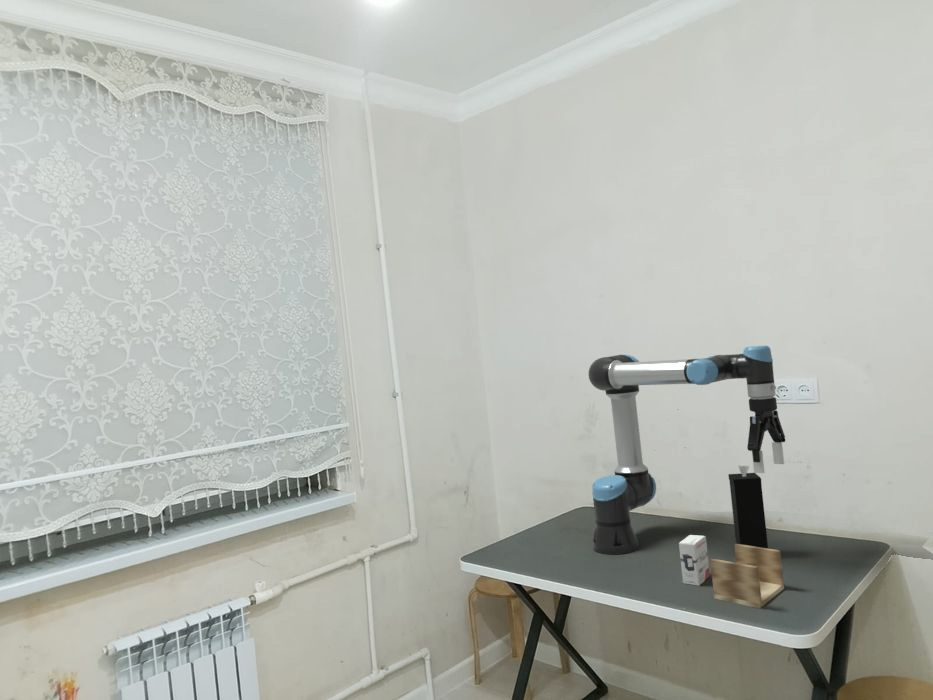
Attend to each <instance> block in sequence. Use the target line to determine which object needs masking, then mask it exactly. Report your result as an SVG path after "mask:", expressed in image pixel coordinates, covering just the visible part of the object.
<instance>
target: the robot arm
mask: <svg viewBox="0 0 933 700" xmlns="http://www.w3.org/2000/svg"><path fill="white" fill-rule="evenodd" d="M774 377H775V376H774V365H773V357H772V350H771V348H770V346H768V345H754V346H753V345H752V346H747V347H744V348H743V352H742V353H740V354H737V353H736V354H715V355H711V356H708V357H706V358H705V357H704V358H703V357H702V358H691V359H690V358H689V359H669V360H667V359H666V360H655V361H653V360H651V361H640V360H638V359H637V358H636V357H635V356H633V355H630V354H616V355H611V356H603V357H599V358H597V359H595V360H594V361H593V362H592V363H591V365H590V366H589V369H588V379H589V382H590V384H591V385H592V386H593V387H594V388H596V390H597V389H598V390H600V391H605V396H607V397H608V398H609V399H610V403H611V404H610V405H611V413H612V414H611V415H612V422H613V431H614V440H615V446H616V447H615V448H616V449H615V450H616V457H617V466H616V467H615V468H614V470H613V471H614V474H611V475H607V476H602V477H598V478H597V479H596V480H595V481H594V482H593V483H592V493H591V494H592V499H593V508H594V509H593V510H594V517H595V519H594V520H595V529H594V534H593V539H592V549H593V550H594V551H595V552H597V553H601V554H605V555H622V554H623V555H624V554H628V553H632V552H635V551H637V550H638V549H639V539H638V537H637V536H636V532H635V530H634V528H633V526H632V522H631V511H633V510H635V509H638V508H639V507H644V506H646V505H647V504H649V503H650V502H651V501H652V500H653V499H654V498H655V495H656V493H657V483H656V481H655V478H654V477H653V476H652V474H651V473H650V472H649V469H648V466H646V465H645V464H644V461H643V454H642V453H643V452H642V445H641V435H640V428H639V427H640V426H639V417H638V409H637V408H638V407H637V400H636V396H637V395H638V394H639V392H640V386H657V385H658V386H659V385H662V386H663V385H691V384H692V385H697V386H703V385H704V386H705V385H710V384H712V383H713V384H714V383H717V382H720V381H726V380H734V379H746V387H747V389H746V390H747V397H748V398H749V399H748V406H749V407H748V409H749V411H750V412H752V413H754V416H750V417H749V428H748V429H749V431H748V440H747V446H746V447H747V451H750V452H751V456H752V464H753V473H756V474H765V464H764V453H763V450H762V444H763V440H764V437H765V432H768V435H770V438H771V439H772V441H773V442H771V447H772V458H773V465H774V464H775V465H784V464H785V460H784V459H785V458H784V451H783V449H784V448H783V443H785V442H786V436H785V433H784V429H783V427H782V423H781V420H780V417H779V412H778V404H777V398H776V397H775V396H776V395H777V394H776V389H777V386H776V385H775V378H774Z"/></svg>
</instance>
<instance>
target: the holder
mask: <svg viewBox="0 0 933 700" xmlns="http://www.w3.org/2000/svg"><path fill="white" fill-rule="evenodd" d="M733 545H734V557H735V562H733V561H728V560H722V559H717V558H711V559H710V560H709V561H710V569H711V579H712V588H713V589H712V590H713V598H714V599H716V600H718V601H719V600H720V601H724V602H725V601H726V602H729V603H733V604H738V605H742V606H748V607H752V608H757V609H762V608H763V607H764V606H765V605H767V603H769V602H770V601H771V600H772V599H773V598H775V597H776V596H777V595H778V594H780V593H781V592H782V591H783V590H785V583H784V572H783V564H782V552H781V550H779V549H772V548H768V549H767V548H761V547H754V546H748V545H741V544H736V543H735V544H733Z"/></svg>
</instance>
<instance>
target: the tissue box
mask: <svg viewBox="0 0 933 700" xmlns="http://www.w3.org/2000/svg"><path fill="white" fill-rule="evenodd" d="M749 468H750V466H749V465H748V466H747V465H738V469H739V471H740V473H728V481H729V489H730V490H729V491H730V498H731V499H730V500H731V507H732V517H733V518H732V519H733V526H734V527H733V528H734V537H735V544H741V545H748V546H754V547H761V548H767V549H769V545H768V537H767V536H768V535H767V534H768V533H767V525H766V515H765V506H764V498H763V497H764V496H763V487H762V485H763V484H762V478H761V477H760V475H758V473H754V472H748V471H749Z"/></svg>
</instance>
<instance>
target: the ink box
mask: <svg viewBox="0 0 933 700" xmlns="http://www.w3.org/2000/svg"><path fill="white" fill-rule="evenodd" d="M678 547H679V549H678V550H679V557H680V566H681V567H680V569H681V576H682V577H681V578H682V583H683V584H684V585H685V584H687V585H693V586H700V585H702V584H703V583H704V582H705V581H706V580H707V579H708V578H709V577H710V576H711V575H710V568H709V567H710V566H709V557H708V556H709V555H708V546H707V536H705V535H695V534H689V535H687V536H686V537H685V538H684V539H682V540H681V541H680V542H678Z"/></svg>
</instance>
